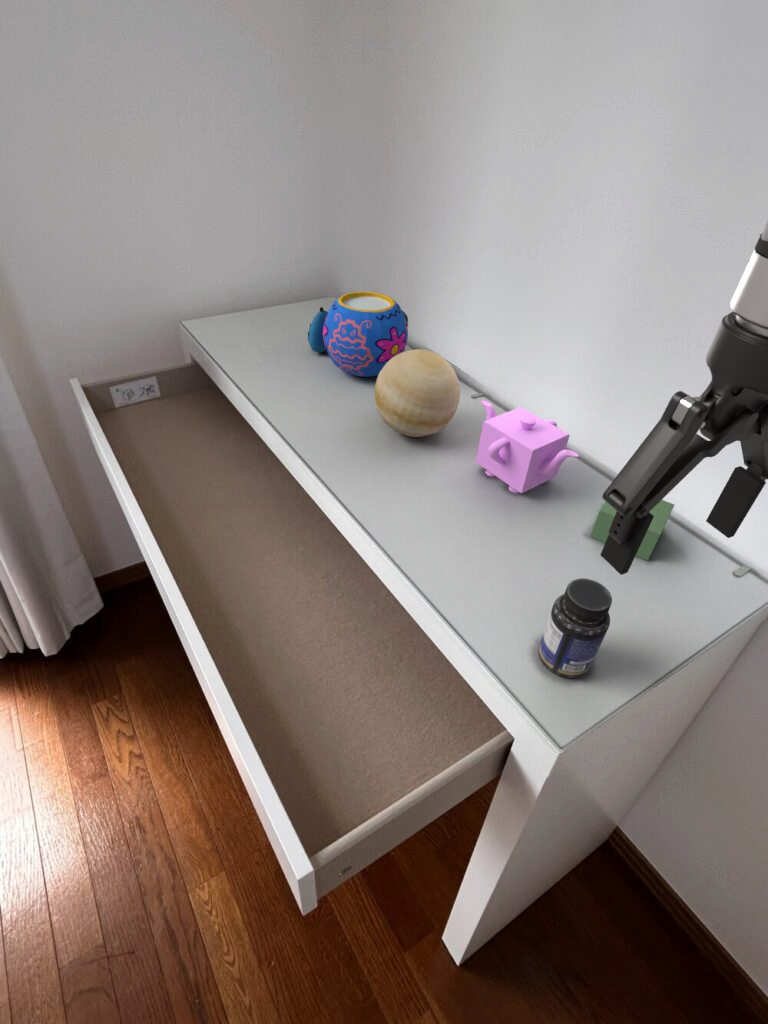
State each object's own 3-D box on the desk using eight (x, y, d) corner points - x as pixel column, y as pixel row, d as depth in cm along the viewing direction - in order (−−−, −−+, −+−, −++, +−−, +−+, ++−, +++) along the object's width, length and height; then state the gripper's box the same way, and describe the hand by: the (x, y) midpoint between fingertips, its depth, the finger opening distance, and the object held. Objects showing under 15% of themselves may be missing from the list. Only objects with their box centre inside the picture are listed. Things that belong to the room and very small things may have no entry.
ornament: (322, 342, 133) (322, 299, 127) (339, 347, 131) (340, 303, 125) (302, 354, 127) (301, 310, 121) (320, 359, 126) (319, 315, 119)
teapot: (465, 491, 91) (476, 432, 84) (472, 447, 101) (482, 392, 95) (561, 507, 89) (581, 449, 82) (558, 461, 100) (575, 406, 93)
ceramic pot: (416, 364, 127) (423, 296, 117) (384, 397, 114) (389, 323, 104) (346, 347, 132) (347, 280, 122) (308, 377, 119) (306, 305, 109)
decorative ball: (402, 402, 113) (409, 328, 103) (468, 428, 106) (482, 352, 97) (355, 432, 103) (358, 353, 93) (425, 463, 97) (435, 382, 87)
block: (662, 530, 86) (674, 504, 83) (647, 560, 81) (660, 534, 78) (607, 508, 90) (617, 482, 87) (589, 536, 84) (599, 510, 81)
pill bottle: (596, 652, 68) (626, 589, 61) (580, 689, 64) (611, 626, 57) (546, 629, 70) (570, 565, 63) (528, 663, 66) (552, 598, 59)
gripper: (841, 291, 47) (727, 494, 61) (610, 322, 38) (537, 552, 52) (940, 325, 42) (791, 538, 55) (699, 369, 33) (592, 611, 46)
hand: (668, 545), depth 54 cm, fingers open, 13 cm apart
